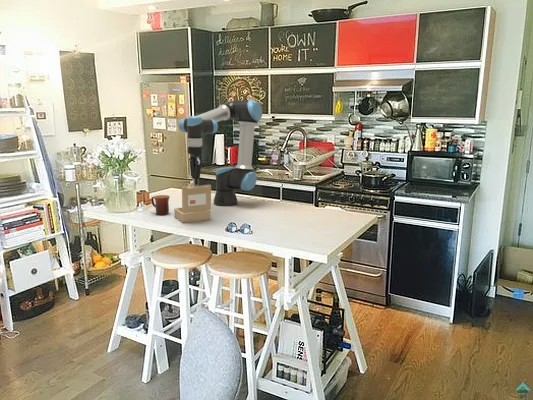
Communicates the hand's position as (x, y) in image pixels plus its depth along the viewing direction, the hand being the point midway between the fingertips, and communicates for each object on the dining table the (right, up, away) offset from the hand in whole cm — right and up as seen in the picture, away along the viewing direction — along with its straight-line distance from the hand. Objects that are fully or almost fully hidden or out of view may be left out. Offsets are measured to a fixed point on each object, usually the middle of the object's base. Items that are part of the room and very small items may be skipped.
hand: (195, 190), depth 240 cm
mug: (-23, -13, +19) cm, 33 cm away
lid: (0, -4, +1) cm, 4 cm away
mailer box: (-3, -15, +10) cm, 19 cm away
